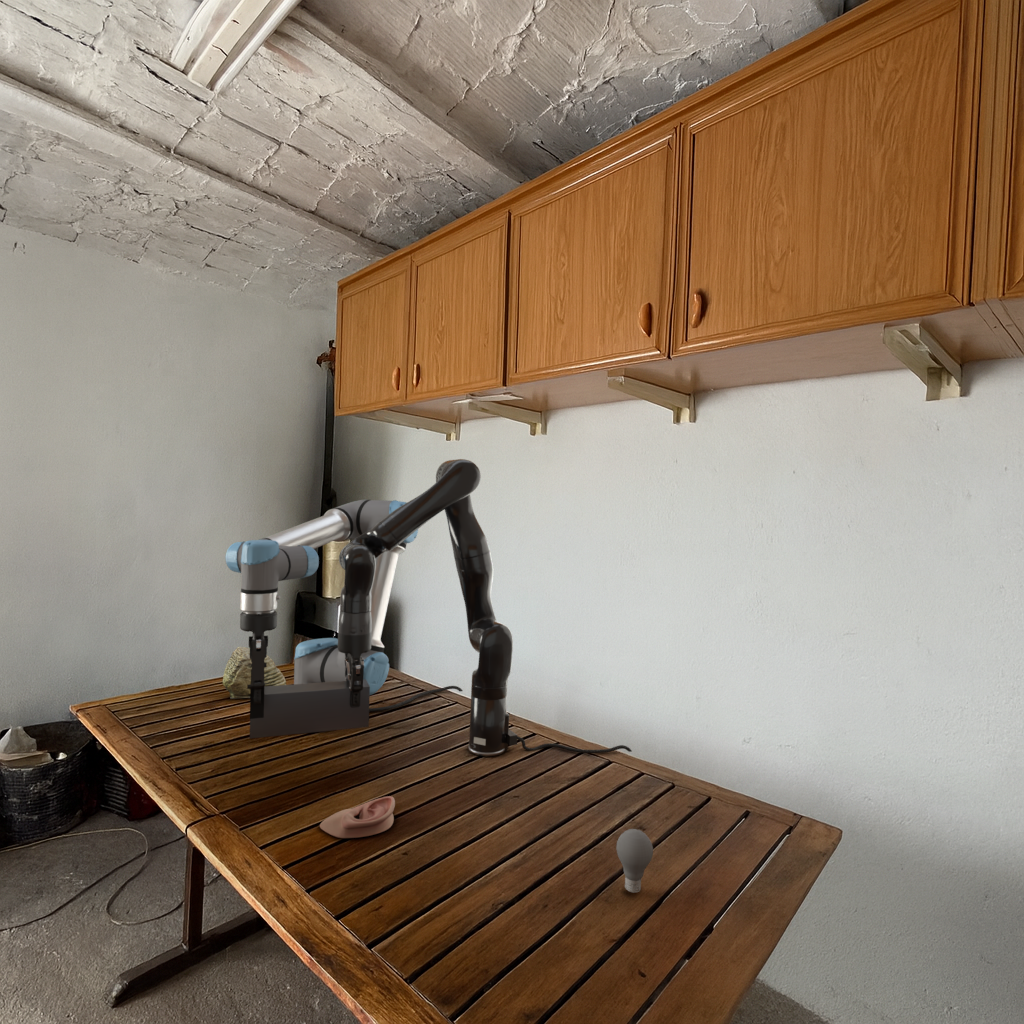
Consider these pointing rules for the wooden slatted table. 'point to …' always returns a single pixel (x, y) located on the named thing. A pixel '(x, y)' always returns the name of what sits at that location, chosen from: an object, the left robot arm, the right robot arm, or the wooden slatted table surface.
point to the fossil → (247, 673)
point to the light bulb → (634, 857)
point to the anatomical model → (361, 819)
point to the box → (310, 709)
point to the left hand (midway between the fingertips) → (256, 707)
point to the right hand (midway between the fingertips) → (353, 702)
